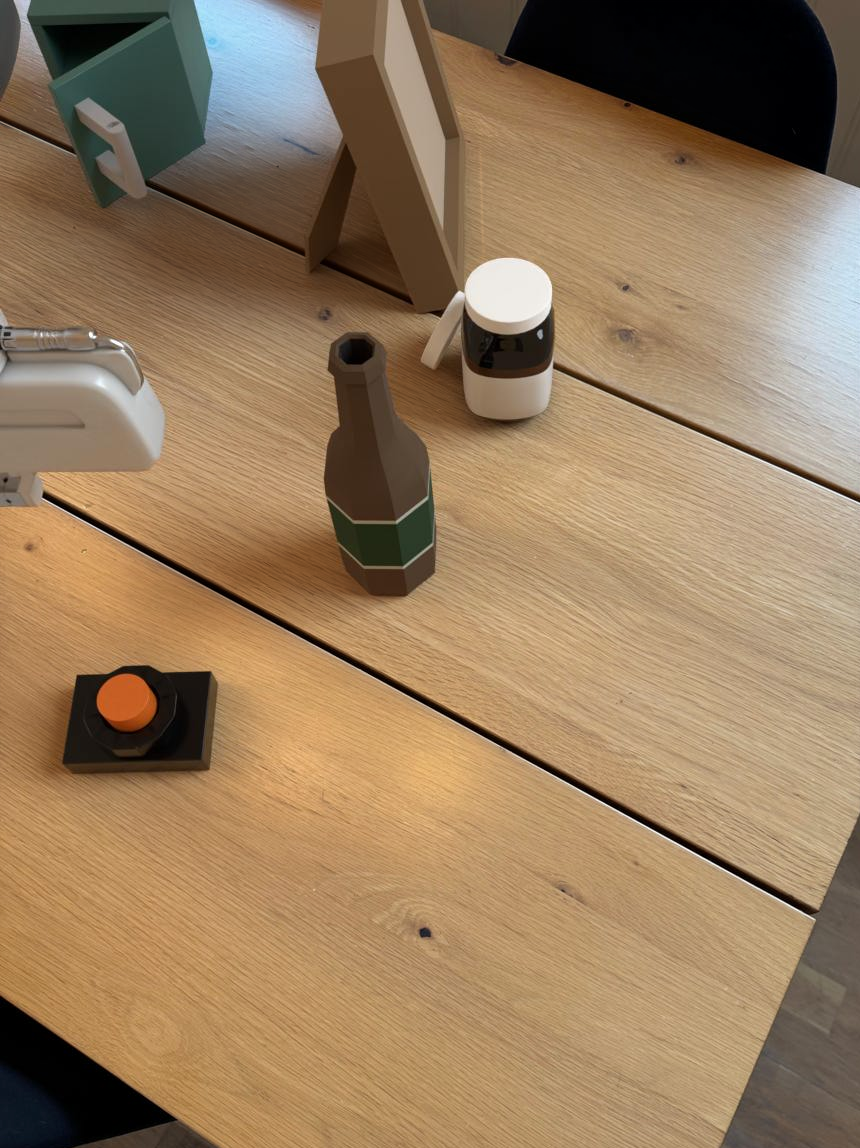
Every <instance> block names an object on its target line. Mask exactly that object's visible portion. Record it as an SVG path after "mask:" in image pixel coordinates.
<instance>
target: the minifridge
mask: <svg viewBox="0 0 860 1148" xmlns="http://www.w3.org/2000/svg"><path fill="white" fill-rule="evenodd" d="M164 16H165V17H166V18H168V19H169V20H171V22H172V26H173V29H174V33H175V36H176V40H177V43H178V47H179V50H180V54H181V57H182V61H183V64H184V68H185V71H186V75H187V78H188V82H189V85H190V89H191V92H192V96H193V99H194V103H195V106H196V110H197V113H198V117H199V120H200V124H201V127H202V131H203V134H204V135H205V132H206V124H207V117H208V111H209V104H210V103H209V102H210V95H211V89H212V83H213V75H214V72H213V68H212V64H211V61H210V57H209V53H208V49H207V45H206V42H205V37H204V34H203V30H202V25H201V22H200V17H199V14H198V10H197V6H196V2H195V0H30V1H29V4H28V9H27V12H26V18H27V22H28V23H29V26H30V28H31V31H32V34H33V36H34V38H35V41H36V43H37V45H38V48H39V50H40V53H41V55H42V57H43V61H44V62H45V66H46V67H47V70H48V72H49V75H50V77H51V79H52V80H51V81H54V80H55V79H57V78H59V77H60V76H62V75H64V74H66V73H67V72H69V71H71V70H72V69H74V68H76V67H78V66H79V65H81V64H83V63H85V62H86V61H88V60H90V59H91V58H93V57H95V56H97V55H98V54H100V53H102V52H104V51H105V50H107V49H109V48H110V47H112V46H114V45H116V44H117V43H119V42H121V41H122V40H124V39H126V38H128V37H129V36H131V35H133V34H135V33H136V32H138V31H140V30H141V29H143V28H145V27H147V26H148V25H150V24H152V23H153V22H155V21H157V20H159V19H160V18H162V17H164Z"/></svg>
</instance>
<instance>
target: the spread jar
mask: <svg viewBox="0 0 860 1148" xmlns="http://www.w3.org/2000/svg"><path fill="white" fill-rule="evenodd" d="M552 299H553V286H552V282H551V279H550V278H549V275H547V273H546V272H545V271H544V269H542V268H541V267H540V266H538V265H537V264H535V263H533V262H532V261H528V260H525V259H523V258H517V257H501V258H496V259H491V260H488V261H486V262H484V263H482V264H480V265H479V266H477V267H476V268H475V269H473V271H472V272H471V273H470V274H469V276H468V277H467V279H466V281H465V283H464V293H463V292H461V291H458V292H457V294H456V295H455V296H454V298H453V299H452V301H451V302H450V304H449V305H448V307H447V309H444V311H443V314H442V315H441V317H440V319H439V321H438V323H437V324H436V326H435V328H434V330H433V331H432V333H431V336H430V337H429V339H428V341H427V344H426V346H425V348H424V350H423V352H422V356H421V357H420V363H422V364H423V365H425V366H426V367H428V368H430V369H432V370H436V369H437V368H438V366H439V365H440V363H441V362H442V360H443V359H444V357H445V355H446V354H447V352H448V351H449V349H450V347H451V345H452V344H453V342H454V340H455V338H456V337H457V335H458V333H459V331H460V344H461V345H460V347H461V365H462V366H461V367H462V368H461V369H462V384H463V385H462V386H463V391H464V392H463V393H464V398H465V402H466V405H467V406H468V408H469V410H470V412H472V414H474V415H476V416H477V417H479V418H483V419H485V420H490V421H496V422H497V421H498V422H518V421H523V420H528V419H531V418H535V417H537V416H539V415H541V414H543V413H544V411H545V410H546V409H547V407H548V406H549V403H550V398H551V393H552V385H553V375H554V374H553V371H554V359H555V358H554V355H555V343H556V318H555V309H554V305H553V301H552Z"/></svg>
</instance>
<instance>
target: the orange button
mask: <svg viewBox="0 0 860 1148" xmlns="http://www.w3.org/2000/svg"><path fill="white" fill-rule="evenodd" d="M97 707H98V709H99V711H100V713H101V714H102V715H103V716H104V718H105V719H106V720H107V721H108V722H109V723H110V724H111V726H112V727H114V728H115V729H117V730H119V731H123V732H133V731H137V730H139V729H142V728H143V727H145V726H146V725H147V724H149V723H150V721H151V720H152V719H153V717H154V715H155V713H156V710H157V700H156V697H155V695H154V694H153V692H152V691H151V690H150V688H149V687H148V685H147V684H146V683H145V681H144V680H143V679H141V678H140V677H138V676H136V675H133V674H121V675H117V676H115V677H113V678H111V679H109V680H108V681H107V682H106V683H105V684H104V685H103V686H102V687H101V689H100V691H99V693H98V696H97Z"/></svg>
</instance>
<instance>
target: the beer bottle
mask: <svg viewBox="0 0 860 1148" xmlns="http://www.w3.org/2000/svg"><path fill="white" fill-rule="evenodd" d="M387 360H388V351H387V350H386V348H385V346H384V344H383V343H382V342H381V341H380V340H378V339H377V338H376V337H375V336H374V335H372V334H371V333H370V332H369V331H347V332H345V333H344V334H342V335H341V336H339V337H338V338H337V339H335V340H334V341H333V342H330V347H329V353H328V363H327V372H328V373H329V374H330V375H332V376H333V380H334V389H335V398H336V399H335V400H336V406H337V415H338V422H339V426H337V428H336V429H334V430H333V432H331V433H330V436H329V439H328V441H327V444H326V445H327V446H326V453H325V455H326V456H325V463H324V472H323V486H324V495H325V498H326V502H327V506H328V510H329V515H330V518H331V521H332V526H333V530H334V534H335V537H336V540H337V545H338V549H339V553H340V556H341V560H342V563H343V566H344V568H345V571H346V573H347V574H349V576H351V578H352V579H354V580H355V581H356V582H357V583H358V585H360V586H361V587H362V588H363V589H364V590H365V591H366V592H367V593H369V594H370V595H371V596H409V594H412V592H413V591H414V590H416V589H417V588H418V587H419V586H421V585H422V584H423V583H424V582H426V581H427V580H428V579H429V578H431V576H433V575H434V574H435V573H436V555H437V522H436V521H437V520H436V512H435V511H436V510H435V499H434V492H433V481H432V471H431V461H430V457H429V451H428V448H427V445H426V444H425V442H424V441H423V440H422V439H421V438H420V436H419V435H418V434H417V433H416V432H415V431H414V430H412V429H411V428H410V427H409V426H408V425H407V424H405V423H404V422H403V421H402V420H401V419H400V418H399V417H398V413H397V412H396V407H395V404H394V399H393V395H392V392H391V388H390V383H389V379H388V375H387V362H388V361H387Z"/></svg>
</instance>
